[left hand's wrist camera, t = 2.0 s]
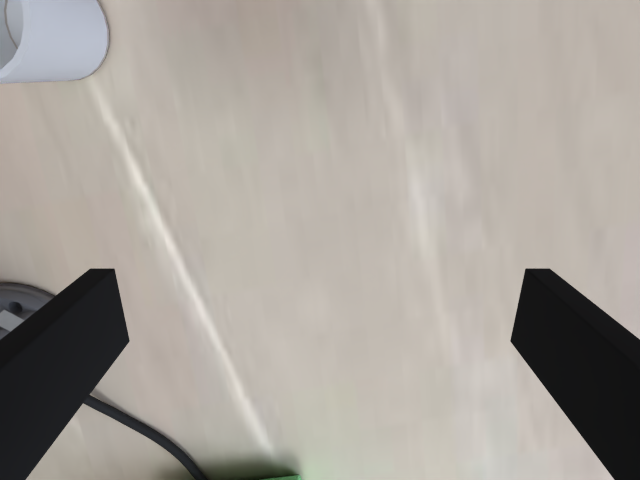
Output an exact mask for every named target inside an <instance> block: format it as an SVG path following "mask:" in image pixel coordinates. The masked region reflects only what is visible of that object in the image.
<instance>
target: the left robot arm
mask: <svg viewBox="0 0 640 480" xmlns="http://www.w3.org/2000/svg"><path fill="white" fill-rule="evenodd" d="M128 343H129V336H128V332H127V327H126V322H125V317H124V312H123V308H122V303H121V298H120V293H119V288H118V284H117V279H116V274H115V269H89V270H88V271H87V272H86V273H84V274H83V275H82V276H80V277H79V278H78V279H77V280H75V281H74V282H73V283H72V284H70V285H69V286H68V287H66V288H65V289H64V290H63V291H61V292H60V293H59V294H58V295H56V296H55V297H54V298H53V299H51V300H50V301H49V302H47V303H46V304H45V305H44V306H42V307H41V308H40V309H39V310H37V311H36V312H35V313H33V314H32V315H31V316H30V317H28V318H27V319H26V320H25V321H23V322H22V323H21V324H20V325H18V326H17V327H16V328H14V329H13V330H12V331H11V332H9V333H8V334H7V335H6V336H4V337H3V338H2V339H0V480H26V478H27V477H28V476H29V474H30V473H31V472H32V470H33V469H34V468H35V466H36V465H37V464H38V462H39V461H40V460H41V458H42V457H43V456H44V454H45V453H46V452H47V450H48V449H49V448H50V446H51V445H52V444H53V442H54V441H55V440H56V438H57V437H58V436H59V434H60V433H61V432H62V430H63V429H64V428H65V426H66V425H67V424H68V422H69V421H70V420H71V418H72V417H73V416H74V414H75V413H76V412H77V410H78V409H79V408H80V406H81V405H82V404H83V402H84V401H85V400H86V398H87V397H88V396H89V394H90V393H91V392H92V390H93V389H94V388H95V386H96V385H97V384H98V382H99V381H100V380H101V378H102V377H103V376H104V374H105V373H106V372H107V370H108V369H109V368H110V366H111V365H112V364H113V362H114V361H115V360H116V359H117V357H118V356H119V355H120V353H121V352H122V351H123V349H124V348H125V347H126V345H127V344H128ZM511 343H512V344H513V345H514V347H515V348H516V349H517V351H518V352H519V353H520V355H521V356H522V357H523V359H524V360H525V361H526V362H527V364H528V365H529V366H530V368H531V369H532V370H533V372H534V373H535V374H536V376H537V377H538V378H539V380H540V381H541V382H542V384H543V385H544V386H545V388H546V389H547V390H548V392H549V393H550V394H551V396H552V397H553V398H554V400H555V401H556V402H557V404H558V405H559V406H560V408H561V409H562V410H563V412H564V413H565V414H566V416H567V417H568V418H569V420H570V421H571V422H572V424H573V425H574V426H575V428H576V429H577V430H578V432H579V433H580V434H581V436H582V437H583V438H584V440H585V441H586V442H587V444H588V445H589V446H590V448H591V449H592V450H593V452H594V453H595V454H596V456H597V457H598V458H599V460H600V461H601V462H602V464H603V465H604V466H605V468H606V469H607V470H608V472H609V473H610V474H611V476H612V477H613V478H614V480H640V339H638V338H637V337H636V336H634V335H633V334H632V333H631V332H629V331H628V330H627V329H626V328H624V327H623V326H622V325H620V324H619V323H618V322H617V321H615V320H614V319H613V318H612V317H610V316H609V315H608V314H607V313H605V312H604V311H603V310H601V309H600V308H599V307H598V306H596V305H595V304H594V303H593V302H591V301H590V300H589V299H587V298H586V297H585V296H584V295H582V294H581V293H580V292H579V291H577V290H576V289H575V288H574V287H572V286H571V285H570V284H568V283H567V282H566V281H565V280H563V279H562V278H561V277H560V276H558V275H557V274H556V273H554V272H553V271H552V270H551V269H525V274H524V279H523V284H522V288H521V293H520V298H519V303H518V308H517V312H516V317H515V322H514V327H513V332H512V336H511Z"/></svg>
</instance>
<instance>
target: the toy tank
mask: <svg viewBox="0 0 640 480" xmlns="http://www.w3.org/2000/svg"><path fill="white" fill-rule="evenodd" d="M261 480H302V479H301V476H300V475H295V476H286V477H278V478H269V479H261Z"/></svg>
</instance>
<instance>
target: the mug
mask: <svg viewBox="0 0 640 480" xmlns="http://www.w3.org/2000/svg"><path fill="white" fill-rule="evenodd" d="M108 46H109V29H108V25H107V20H106V16H105V14H104V12H103V10H102V8H101V6H100V4H99V2H98V0H0V84H4V83H26V82H48V81H70V80H80V79H83V78H85V77H87V76H90V75H91V74H93V73H94V72H95V71H96V70H97V69H98V68H99V67H100V66H101V64H102V62H103V61H104V59H105V57H106V54H107V50H108Z"/></svg>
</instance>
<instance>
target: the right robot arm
mask: <svg viewBox="0 0 640 480" xmlns="http://www.w3.org/2000/svg"><path fill="white" fill-rule="evenodd" d="M54 297H55V296H53V295H51V294H49V293H47V292H45V291H43V290H40V289H37V288H34V287H30V286H27V285H21V284H13V283H2V284H0V339H2V338H3V337H4V336H6V335H7V334H8V333H9V332H11V331H12V330H13V329H14V328H16V327H17V326H18V325H20V324H21V323H22V322H23V321H25V320H26V319H27V318H28V317H30V316H31V315H32V314H33V313H35V312H36V311H37V310H39V309H40V308H41V307H42V306H44V305H45V304H46V303H47V302H49V301H50V300H51V299H53V298H54ZM83 403H84V404H86V405H88V406H90V407H92V408H93V409H95V410H97V411H99V412H101V413H104V414H106V415H108V416H110V417H111V418H113V419H115V420H117V421H119V422H121V423H122V424H124V425H126V426H128V427H130V428H132V429H134V430H135V431H137V432H139V433H141V434H143V435H144V436H146V437H148V438H150V439H151V440H153V441H154V442H156V443H157V444H159V445H160V446H162V447H163V448H164V449H166V450H167V451H168V452H170V453H171V454H172V455H173V456H175V457H176V458H177V459H178V460H179V461H180V462H181V463H182V464H183V465H184V466H185V467H186V468H187V470H188V471H189V472H190V473H191V474H192V476H193V477H194V478H195V479H196V480H207V478H206V477H205V476H204V475H203V474H202V472H201V471H200V470H199V469H198V467H197V466H196V465H195V464H194V463H193V461H192V460H191V459H190V458H189V457H188V456H187V455H186V454H185V453H184V452H183V451H182V450H181V449H180V448H178V447H177V446H176V445H175V444H174V443H172V442H171V441H170V440H168V439H167V438H166V437H164V436H163V435H161V434H160V433H158V432H156V431H155V430H153V429H152V428H150V427H148V426H146V425H145V424H143V423H141V422H139V421H137V420H135V419H134V418H132V417H130V416H128V415H126V414H125V413H123V412H121V411H119V410H117V409H116V408H114V407H112V406H110V405H108V404H106V403H104V402H102V401H100V400H98V399H96V398H94V397H92V396H91V395H89V396H88V397H87V398H86V400H85V401H84V402H83Z"/></svg>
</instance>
